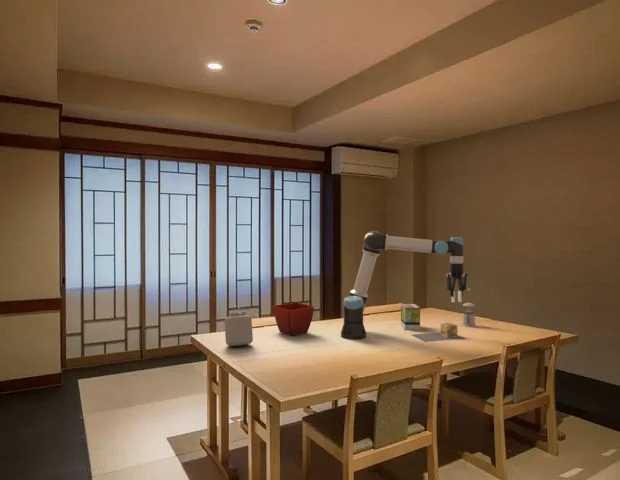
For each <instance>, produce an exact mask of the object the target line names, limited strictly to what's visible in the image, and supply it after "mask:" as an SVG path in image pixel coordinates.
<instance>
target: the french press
mask: <svg viewBox="0 0 620 480" xmlns="http://www.w3.org/2000/svg"><path fill="white" fill-rule="evenodd" d="M471 290H472V289H471V288H467V291H471ZM462 306H463V307H466V308H468V309H465V310H463V313H462V323H461V324H460V325H461V327H464V328H477V325H476V312H475V310H471V308H474V307H476V304H474V303H472V302H466V303H465V302H464V303H463V304H462Z"/></svg>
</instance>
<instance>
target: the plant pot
mask: <svg viewBox="0 0 620 480" xmlns="http://www.w3.org/2000/svg"><path fill="white" fill-rule="evenodd" d="M314 310H315V306H313V305H308V304H305V303H301V302H292V303H285V304H284V303H282V304H276V305H275V304H274V305H272V311H273V316H274V319H275V322H276V325H277V328H278V331H279V333H280V332H281V334H283V333H284V334H283V335H286V334H287V336H289V335H290V337H293V335H294V336H298V335H305V334H308V331H309V329H310V327H311V323H312V319H313V315H314Z"/></svg>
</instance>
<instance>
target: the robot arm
mask: <svg viewBox="0 0 620 480" xmlns="http://www.w3.org/2000/svg"><path fill="white" fill-rule="evenodd" d="M386 250H399V251H406V252H407V251H408V252H417V253H427V254H428V253H429V254H435V255H436V254H437V255H445V254H449V256H450V257H449V269H450V271H449V273H445V277H446V289H447V291H449V293H450V294H449V295H450V299H451V301H450V302H451V303H456V291H454V290H455V287H456V286H455V285H456V281H457V284H458V291H457V302H459V303H462V302H463V300H462V297H463V295H464V294H463V292H464V291H465V290H467V277H468V273H467V272H466V273H465V272H464V238H463V237H461V236H460V237H459V236H458V237H457V236H456V237H453V236H451V237H450V239H448V240H437V239H435V240H432V239H425V238H424V239H423V238H414V237H403V236H402V237H401V236H393V235H389V234H388V233H382V232H380V231H377V230H372V231H368V232H366V234H365V235H364V237H363V245H362V248H361V251H362V252H363V254H362V257H361V259H360V260H361V261H360V264H359V268H358V272H357V275H356V279H355V282H354V286H353V289H351V290H349V294H348V296H346V297H344V299H343V324H342V328H341V331H340V337H341V338H343V339H348V340H361V339H365V338H367V331H366V329H365V325H364V311H365V310H366V307H367V302H368V299H369V295H368V289H369V286H370V283H371V279H372V276H373V272H374V268H375V264H376V261H377V258H378V257H379V256H380V255H381V253H382V251H386Z"/></svg>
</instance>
